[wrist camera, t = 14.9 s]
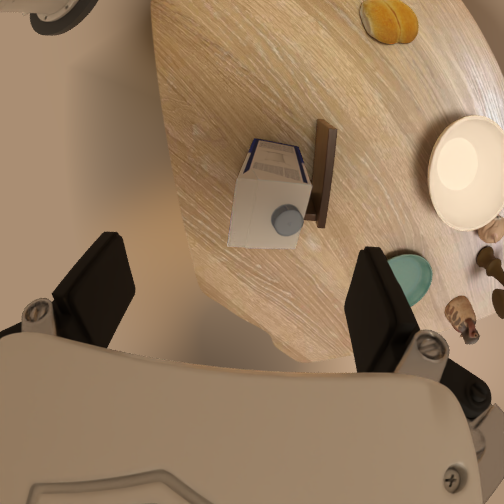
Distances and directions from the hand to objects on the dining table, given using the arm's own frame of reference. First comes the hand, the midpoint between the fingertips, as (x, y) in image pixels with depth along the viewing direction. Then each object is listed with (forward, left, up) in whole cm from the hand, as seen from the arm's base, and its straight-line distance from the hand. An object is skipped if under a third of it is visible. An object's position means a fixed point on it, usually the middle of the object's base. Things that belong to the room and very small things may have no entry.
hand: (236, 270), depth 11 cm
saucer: (+27, -26, -34) cm, 51 cm away
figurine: (+48, -34, -34) cm, 68 cm away
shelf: (+3, -4, -34) cm, 35 cm away
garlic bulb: (+45, -11, -34) cm, 58 cm away
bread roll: (+17, +20, -34) cm, 44 cm away
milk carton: (+1, -5, -34) cm, 35 cm away
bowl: (+33, -1, -34) cm, 48 cm away
